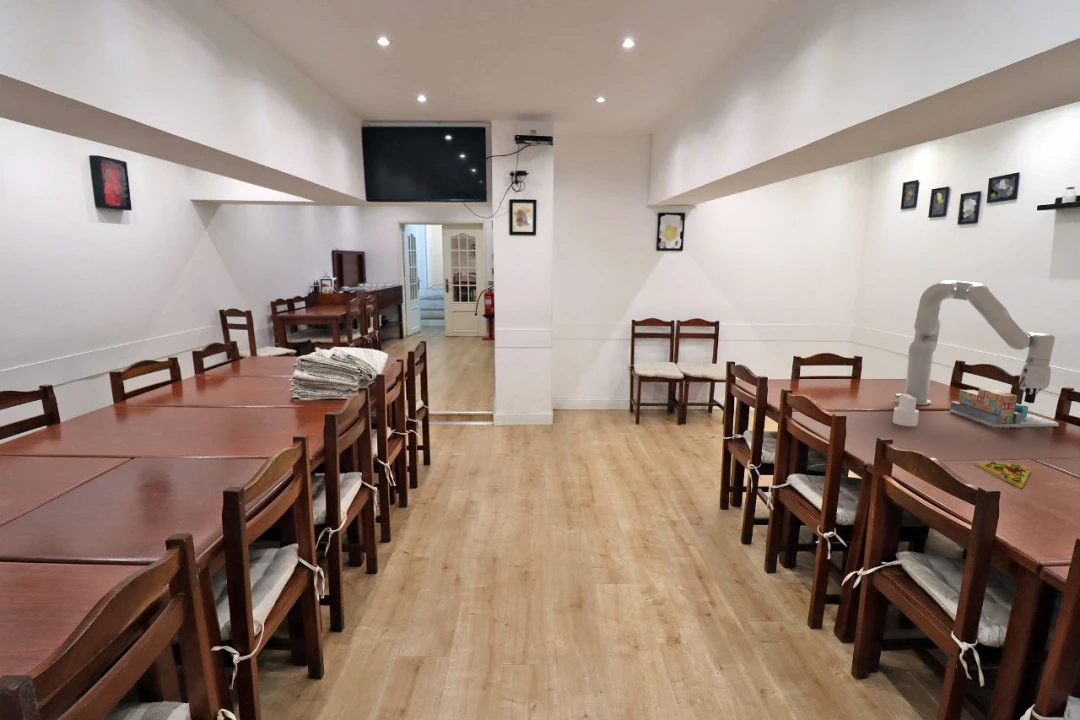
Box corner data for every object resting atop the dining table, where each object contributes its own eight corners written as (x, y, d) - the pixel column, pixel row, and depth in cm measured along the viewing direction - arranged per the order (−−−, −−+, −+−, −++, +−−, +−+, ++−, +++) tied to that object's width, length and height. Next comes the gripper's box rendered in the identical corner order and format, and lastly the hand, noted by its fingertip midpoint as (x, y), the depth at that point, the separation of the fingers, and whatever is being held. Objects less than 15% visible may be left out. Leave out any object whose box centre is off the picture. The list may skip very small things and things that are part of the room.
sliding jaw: (1015, 423, 231) (1017, 411, 230) (968, 407, 254) (969, 397, 253) (1042, 422, 231) (1043, 411, 230) (992, 407, 255) (994, 396, 254)
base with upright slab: (921, 426, 233) (924, 399, 231) (897, 425, 235) (901, 398, 233) (911, 420, 242) (915, 394, 240) (889, 419, 244) (892, 393, 241)
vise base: (995, 428, 231) (997, 416, 230) (949, 412, 254) (951, 401, 253) (1058, 426, 232) (1060, 414, 231) (1007, 410, 256) (1009, 400, 255)
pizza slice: (1028, 471, 187) (1029, 463, 186) (1052, 495, 168) (1054, 486, 168) (972, 464, 193) (973, 456, 193) (989, 486, 175) (990, 477, 174)
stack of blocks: (957, 409, 252) (961, 383, 250) (970, 409, 253) (974, 383, 250) (999, 423, 231) (1003, 395, 229) (1013, 423, 232) (1017, 394, 230)
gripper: (1029, 363, 235) (1020, 404, 239) (1062, 363, 236) (1053, 405, 240) (1013, 359, 243) (1005, 400, 246) (1045, 360, 243) (1036, 400, 247)
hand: (1028, 402), depth 243 cm, fingers closed
